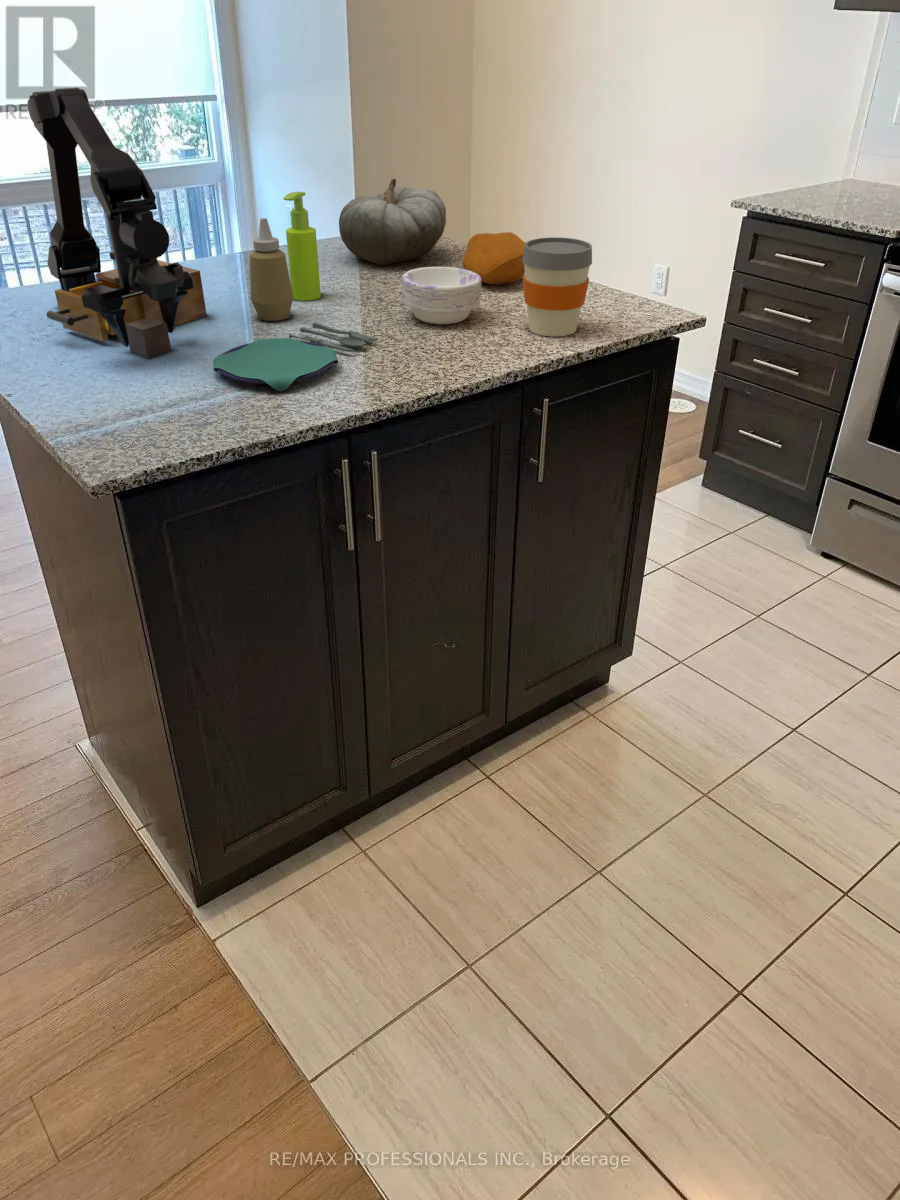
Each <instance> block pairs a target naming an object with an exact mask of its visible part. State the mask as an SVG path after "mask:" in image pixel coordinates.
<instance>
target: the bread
mask: <svg viewBox="0 0 900 1200" xmlns="http://www.w3.org/2000/svg"><path fill="white" fill-rule="evenodd" d="M525 243H526V241H524V240H523V239H521V238H520V237H519V236H518V235H517V234H515V233H513V232H511V231H508V232H498V233H489V232H487V233H486V232H485V233H477V234H474V235H473V236H471V238H469V240H468V242H467V246H466V249H465V254H464V256H463V258H462V260H461V262H462V269H465V270H469V271H472V272H475V273H476V274H478V275H479V276H480V277H481V283H485V284H487V285H493V286H495V285H499V286H500V285H507V284H512V283H516V282H518V281H520V280H522V279H523V276H524V275H525V267H524V263H523V261H522V260H523V254H524V247H525Z"/></svg>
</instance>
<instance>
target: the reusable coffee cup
mask: <svg viewBox="0 0 900 1200" xmlns="http://www.w3.org/2000/svg"><path fill="white" fill-rule="evenodd" d="M522 261H523V263H524V267H525V273H524V275H523V277H522V284H523V297H524V303H525V304H526V308H527V322H528V323H527V324H528V330H529V332H531V333H533V334H535V335H538V336H544V337H564V336H565V337H566V336H570V335H572V334H575V333H576V331H577V328H578V324H579V319H580V315H581V314H580V313H581V309H582V306H584V304H585V302H586V297H587V293H588V292H587V291H588V287H589V284H590V283H589V282H590V278H589V271H590V266H592V264H593V245H592V244H591V243H590V242H587V241H585V240H582V239H577V238H571V237H558V236H556V237H554V236H553V237H540V238H534V239H531V240H528V241H525V247H524V254H523V260H522Z"/></svg>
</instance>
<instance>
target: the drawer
mask: <svg viewBox="0 0 900 1200" xmlns="http://www.w3.org/2000/svg"><path fill="white" fill-rule="evenodd" d="M100 285H103V286H106V287H110V288H113V289H116V288H120V287H121V286H120V285H117V284H115V283H111V282H108V281H105V280H104V281H100V282H96V283H92V284H88V285H84V286H80V287H76V288H72V289H69V291H70V292H68V291H65V290H62V289H61V288H58V289H55V290H54V295H55V299H56V302H57V307H58V310H57V311H53V310H48V311H47V312H46V317H47V319H49V320H53V321H54V322H55V321H56V322H58V323H61V324H62V327H63V328H64V329H67V330H69V331H72V332H75V333H77V334H81V335H83V336H86V337H90V338H92V339H95V340H98V341H101V342H105V341H108V340H109V339H110V338H109V335H110V336H115V335H116V334H115V332H114V331H113V329H112V328H111V327H110V325H109V324H108V323H107V321H106V320H105V319H104V318H103V317H102V315H101V314H100V313H99V312H95V311H92V309H89V308H86V307H84V306H83V302H82V293H83V291H84V290H85V289H89V288H93V287H97V286H100ZM131 291H134V290H130V292H131ZM121 308H122V309H126V312H125V315H124V321H125V324H127V323H131V322H134V321H137V320H141V319H144V317H143V312H142V307H141V301H140V296H139V295H138V296H134V297H131V298H127V299H123V305H122V306H121Z"/></svg>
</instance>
